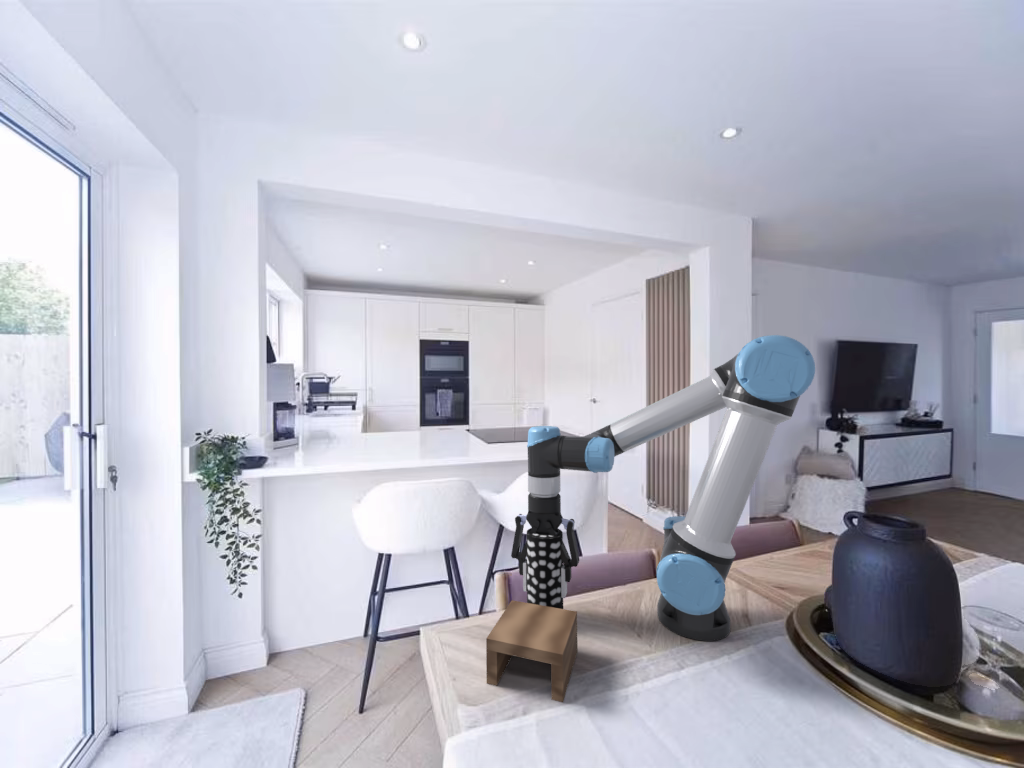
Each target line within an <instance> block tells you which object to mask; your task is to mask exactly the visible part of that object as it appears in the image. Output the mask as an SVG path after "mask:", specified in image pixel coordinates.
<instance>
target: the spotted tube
mask: <svg viewBox="0 0 1024 768" xmlns="http://www.w3.org/2000/svg"><path fill="white" fill-rule="evenodd" d="M531 529H532V527H530V528H528V529H527V530H526V541H527V557H526V558H527V592H526V603H531V604H536V605H542V606H548V607H554V608H560V609H564V598H561V568H562V566H563V562H562V559H561V553H560V544H561V545H562V544H563V542H564V540H563V539H564V538H563V537H564V536H563V531H562V530H561V528H558V529H559V533H558V534H557V532H555V533H556V534H557V536H550V534H542V533H535V534H532V533H530V531H531Z"/></svg>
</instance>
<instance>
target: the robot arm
mask: <svg viewBox="0 0 1024 768" xmlns="http://www.w3.org/2000/svg"><path fill="white" fill-rule="evenodd" d="M815 374H816V363H815V359H814V356H813V355H812V353H811V351H810V350H809V348H807V347H806V345H804V344H803V343H802V342H801V341H799V340H797V339H795V338H793V337H789V336H786V335H779V334H773V335H764V336H759V337H756V338H755V339H752V340H751V341H749V342H747V343H746V344H745V345H744V346H743V347H742V348H741V350H740V351H739V352H738V353H737V354H736V355H735V356H734V357H732V358H731V359H729V360H728V361H726V362H725V363H723V364H721V365H719V366H717V367H715V368H713V369H712V370H711V372H710V375H709V376H707V377H705V378H703V379H701V380H699V381H696V382H695V383H693V384H691V385H688V386H686V387H684V388H682V389H680V390H678V391H676V392H673V393H672V394H670V395H668V396H666V397H664V398H661V399H660V400H657V401H656V402H653V403H652V404H651V403H650V404H649V405H646V406H644V408H641V409H639V410H636V411H635V412H633V413H631V414H629V415H627V416H625V417H623V418H620V419H619V420H616V421H614V422H612V423H610V424H609V425H606V426H604V427H602V428H600V429H597V430H596V431H595V430H594V431H593V432H591V433H589V434H586V435H584V436H575V435H574V436H573V435H572V436H571V435H568V436H567V435H563V434H562V433H561V430H560V428H559V427H558V426H554V425H553V426H552V425H550V426H549V425H539V426H538V425H536V426H532V427H530V428H529V429H528V431H527V445H526V447H527V491H528V494H527V514H524V515H523V514H522V513H519V514H518V515H516V516H515V518H514V522H515V531H514V538H513V542H512V543H513V544H512V549H511V553H510V554H511V555H510V557H511V559H516V560H517V561H518V565H519V566H518V572H519V576H522V589H523V590H522V591H523V592H525V593H527V540H526V541H525V543H524V545H523V548H522V550H521V544H522V540H523V539H522V538H523V534H524V526H525V525H526V523H527V522H528V524H529V526H530V528H532V529H531V531H530V533H532V534H535V533H542V534H550V536H557V534H558V533H559V529H560V528H559V527H560V526H561V525H563V529H564V530H566V539H567V543H568V548H569V549H568V550H569V552H568V550H567V548H566V545H565V542H564V541H563V544H562V545H561V544H560V553H561V559H562V562H563V566H562V568H561V598H563V599H566V596H567V594H568V583H570V582H571V580H572V568H573V567H575V568H576V567H578V565H579V562H580V556H579V550H578V545H577V540H576V535H575V531H574V528H575V523H576V521H575V520H574V519H573V518H570V519H567V518H563V516H562V511H561V510H562V509H561V504H562V503H561V501H562V500H561V497H562V496H561V494H560V492H561V470H568V471H569V470H571V471H578V472H579V471H582V472H591V473H595V474H597V473H609V472H610V471H612V470H613V467H614V463H615V457H618V456H619V455H622V454H623V453H625V452H629V451H630V450H632V449H634V448H636V447H639V446H642V445H643V444H645V443H648V442H651V441H653V440H655V439H658V438H659V437H662V436H665V435H666V434H668V433H671V432H673V431H675V430H677V429H680V428H681V427H684V426H686V425H688V424H691V423H694V422H695V421H698V420H701V418H705V417H707V416H709V415H712V414H714V413H716V412H718V411H720V410H722V409H725V408H726V410H725V412H724V416H723V418H722V421H721V424H720V426H719V429H718V431H717V434H716V437H715V440H714V441H713V444H712V447H711V449H710V452H709V454H708V457H707V460H706V463H705V465H704V468H703V471H702V473H701V475H700V478H699V481H698V483H697V486H696V489H695V491H694V494H693V496H692V498H691V499H692V500H691V502H690V505H689V507H688V509H687V512H686V514H685V516H677V515H675V516H669V517H666V518H665V519H664V524H663V528H662V529H663V530H664V531H663V532H664V533H663V535H664V538H663V540H664V541H663V546H662V551H661V553H660V554H661V555H660V559H659V563H658V564H657V567H656V570H655V571H656V572H655V573H656V574H655V576H656V581H657V586H658V588H659V591H660V595H659V598H658V601H657V605H656V607H657V608H656V609H657V611H656V613H657V618H658V620H659V622H660V624H662V626H664V627H665V628H666V629H668V630H670V631H671V632H673V633H675V634H677V635H680V636H681V637H685V638H688V639H691V640H697V641H703V642H705V641H707V642H711V641H712V642H713V641H719V640H722V639H725V638H726V637H727V636H728V635H730V632H731V617H730V614H729V611H728V608H727V606H726V603H725V596H726V591H727V590H726V589H727V588H726V583H725V582H726V580H727V578H728V574H729V573H730V570H731V567H732V564H733V562H734V560H735V558H736V555H737V553H736V550H735V548H734V547H733V545H732V542H731V541H732V539H733V537H734V535H735V532H736V528H737V527H738V524H739V522H740V519H741V517H742V515H743V511H744V509H745V507H746V504H747V503H748V500H749V496H750V494H751V492H752V490H753V487H754V484H755V482H756V479H757V477H758V474H759V472H760V470H761V467H762V465H763V462H764V460H765V457H766V455H767V452H768V450H769V447H770V445H771V442H772V440H773V437H774V436H775V435H774V434H775V433H776V429H777V427H778V425H780V424H781V423H784V422H786V421H787V422H788V421H789V420H791V419H792V417H793V414H794V413H795V410H796V408H797V405H798V402H799V400H800V397H801V396H802V395H803V394H804V393H805V392H806V391H808V389H809V387H810V386H811V385H812V383H813V381H814V378H815ZM561 434H562V435H561ZM555 532H557V534H556V533H555ZM520 550H521V551H520Z"/></svg>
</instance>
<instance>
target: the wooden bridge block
mask: <svg viewBox="0 0 1024 768" xmlns="http://www.w3.org/2000/svg"><path fill="white" fill-rule="evenodd" d="M485 645H486V648H485V649H486V651H485V652H486V654H485V655H486V659H485V660H486V662H485V663H486V684H488V685H492V686H496V687H497V686H498V684H499V682H500V681H501V679H502V677H503V675H504V673H505V671H506V670H507V667H508V665H509V663H510V662H511V660H512V659H513V657H519V658H522V659H527V660H532V661H536V662H539V663H540V662H541V663H544V664H545V663H546V664H550V669H551V670H550V671H551V675H550V676H551V677H550V679H551V682H550V683H551V684H550V685H551V688H550V689H551V691H550V692H551V693H550V695H551V700H552V701H556V702H560V703H564V700H565V697H566V693H567V689H568V686H569V684H570V679H571V676H572V672H573V669H574V665H575V662H576V658H577V654H578V611H575V610H569V609H564V608H563V609H560V608H554V607H548V606H542V605H536V604H531V603H527V602H523V601H519V600H518V601H517V600H513V599H512V600H511V601H510V602H509V604H508V605H507V607H506V608H505V609H504V611H503V613H502V614H501V615H500V618H499V619H498V620H497V622H496V623H495V625H494V626H493V628H492V629H491V631H490V632H489V634H488V635H487V637H486V642H485Z"/></svg>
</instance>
